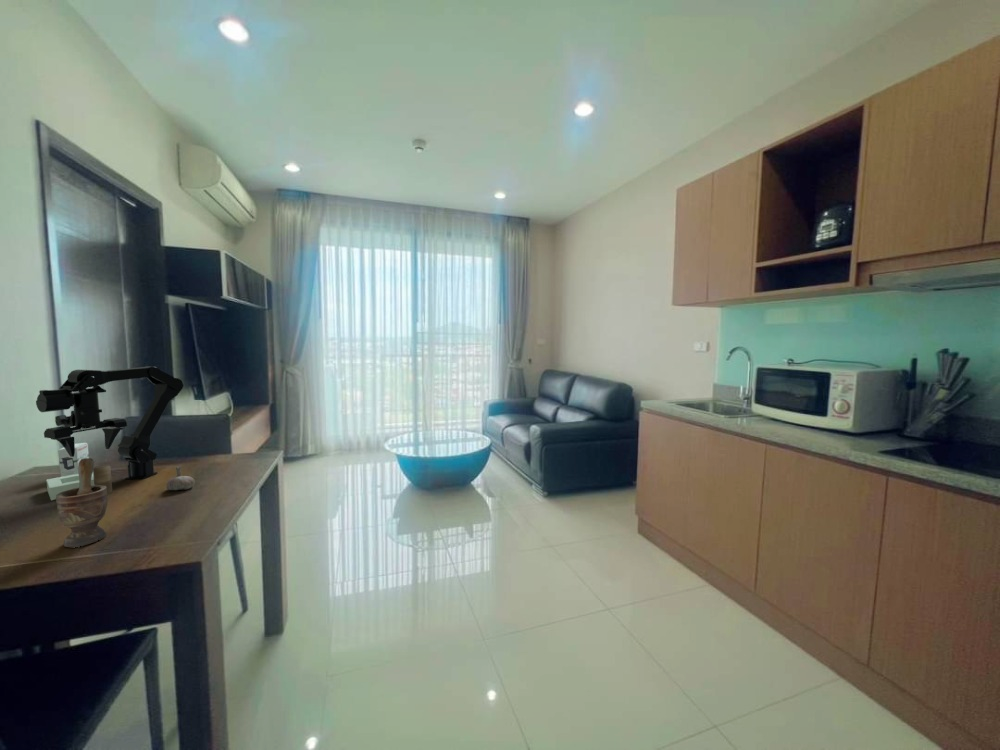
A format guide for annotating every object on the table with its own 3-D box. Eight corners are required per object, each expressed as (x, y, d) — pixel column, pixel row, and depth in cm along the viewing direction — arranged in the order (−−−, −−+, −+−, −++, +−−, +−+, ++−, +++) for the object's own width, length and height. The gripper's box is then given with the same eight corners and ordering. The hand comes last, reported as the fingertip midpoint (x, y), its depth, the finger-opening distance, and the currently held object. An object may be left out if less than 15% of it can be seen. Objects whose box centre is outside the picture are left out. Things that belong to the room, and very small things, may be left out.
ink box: (72, 473, 143) (69, 443, 142) (90, 471, 146) (88, 442, 145) (60, 481, 136) (57, 449, 135) (79, 479, 138) (76, 447, 137)
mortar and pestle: (54, 539, 97) (47, 463, 95) (102, 525, 104) (96, 455, 102) (64, 553, 91) (57, 472, 89) (114, 537, 98) (108, 462, 96)
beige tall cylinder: (115, 491, 127) (113, 465, 127) (103, 495, 124) (101, 469, 123) (103, 491, 127) (101, 465, 127) (91, 495, 123) (89, 469, 123)
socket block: (99, 480, 136) (98, 470, 136) (105, 488, 129) (104, 477, 129) (47, 491, 127) (46, 479, 126) (50, 500, 120) (49, 488, 119)
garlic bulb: (161, 491, 128) (159, 468, 127) (185, 484, 135) (184, 462, 134) (176, 494, 125) (174, 471, 125) (200, 486, 132) (198, 464, 132)
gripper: (104, 401, 137) (108, 443, 138) (30, 410, 119) (35, 458, 120) (126, 403, 134) (130, 446, 136) (53, 412, 116) (58, 461, 118)
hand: (90, 452), depth 127 cm, fingers open, 9 cm apart
